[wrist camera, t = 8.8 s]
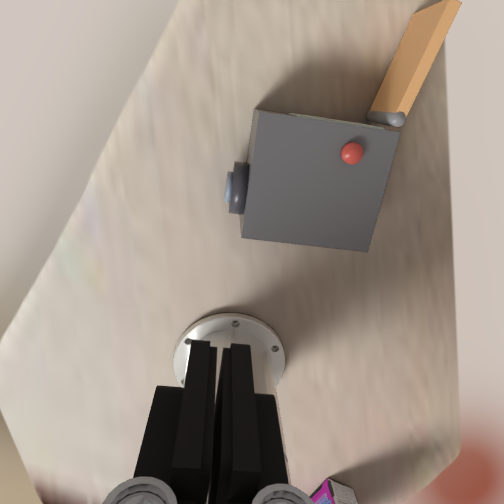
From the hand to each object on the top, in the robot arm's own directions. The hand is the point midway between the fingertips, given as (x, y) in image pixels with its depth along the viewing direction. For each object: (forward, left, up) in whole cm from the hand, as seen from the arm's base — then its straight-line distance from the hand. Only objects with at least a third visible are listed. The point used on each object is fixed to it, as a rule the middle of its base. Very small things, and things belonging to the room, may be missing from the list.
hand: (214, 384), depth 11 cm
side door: (+12, -13, -27) cm, 32 cm away
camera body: (+2, -7, -27) cm, 28 cm away
